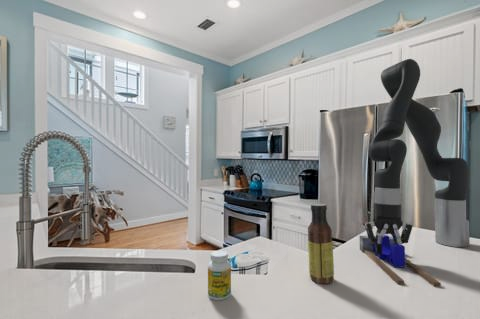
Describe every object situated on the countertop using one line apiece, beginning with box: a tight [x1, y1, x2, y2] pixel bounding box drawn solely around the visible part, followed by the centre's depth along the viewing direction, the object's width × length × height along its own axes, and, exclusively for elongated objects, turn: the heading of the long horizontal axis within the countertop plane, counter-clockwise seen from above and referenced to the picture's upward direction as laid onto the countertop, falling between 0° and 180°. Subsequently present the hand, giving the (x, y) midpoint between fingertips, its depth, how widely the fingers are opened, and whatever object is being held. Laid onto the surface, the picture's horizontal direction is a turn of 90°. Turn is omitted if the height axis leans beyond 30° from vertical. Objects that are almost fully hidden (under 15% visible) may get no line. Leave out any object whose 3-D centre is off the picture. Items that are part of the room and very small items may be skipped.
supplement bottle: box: [207, 250, 232, 301], centre depth 58 cm, size 5×5×10 cm
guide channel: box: [359, 235, 442, 288], centre depth 76 cm, size 11×26×5 cm, turn 173°
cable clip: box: [373, 234, 406, 268], centre depth 79 cm, size 12×4×6 cm, turn 171°
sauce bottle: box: [307, 202, 335, 285], centre depth 66 cm, size 6×6×20 cm
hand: (387, 255), depth 79 cm, fingers closed on cable clip, 4 cm apart
